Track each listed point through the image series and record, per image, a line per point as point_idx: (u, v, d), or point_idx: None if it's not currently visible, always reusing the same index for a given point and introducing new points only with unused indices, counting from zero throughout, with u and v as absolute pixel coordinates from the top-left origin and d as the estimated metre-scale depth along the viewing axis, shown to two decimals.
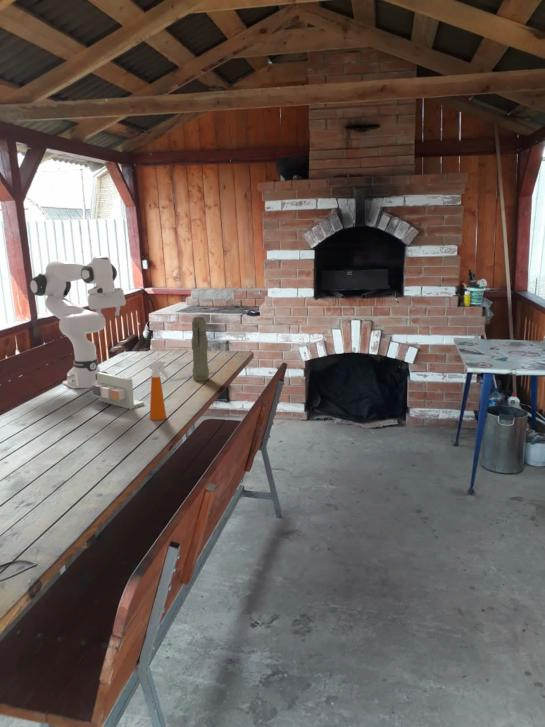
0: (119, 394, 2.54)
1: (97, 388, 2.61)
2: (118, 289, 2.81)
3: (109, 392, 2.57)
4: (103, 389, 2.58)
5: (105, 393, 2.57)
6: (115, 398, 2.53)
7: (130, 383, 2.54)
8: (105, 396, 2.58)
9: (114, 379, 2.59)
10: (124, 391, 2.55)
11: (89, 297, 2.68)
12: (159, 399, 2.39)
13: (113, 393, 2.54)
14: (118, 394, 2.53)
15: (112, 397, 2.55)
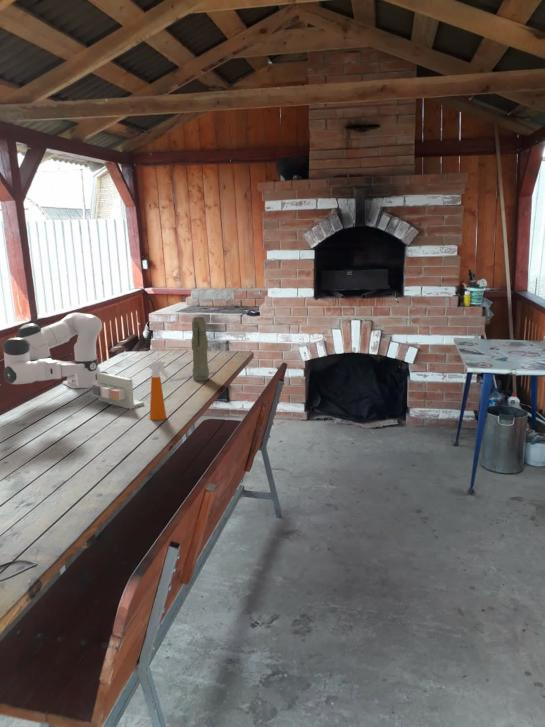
0: (119, 394, 2.54)
1: (97, 388, 2.61)
2: None
3: (109, 392, 2.57)
4: (103, 389, 2.58)
5: (105, 393, 2.57)
6: (115, 398, 2.53)
7: (130, 383, 2.54)
8: (105, 396, 2.58)
9: (114, 379, 2.59)
10: (124, 391, 2.55)
11: (65, 372, 2.25)
12: (159, 399, 2.39)
13: (113, 393, 2.54)
14: (118, 394, 2.53)
15: (112, 397, 2.55)
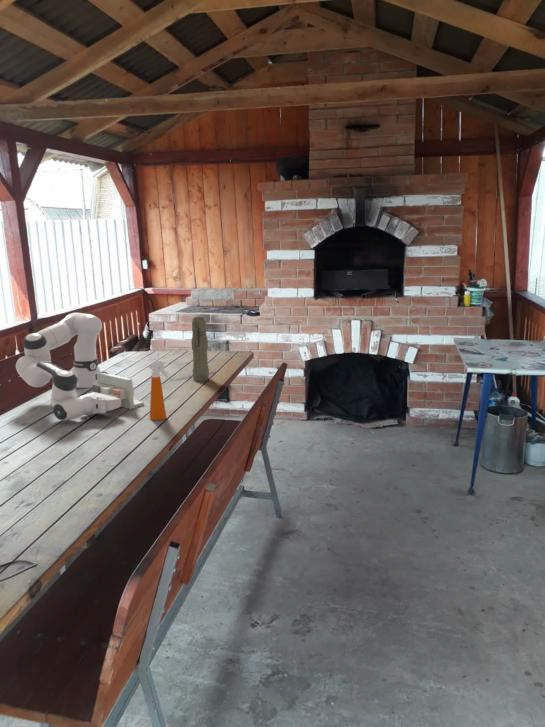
0: (121, 394, 2.54)
1: (97, 388, 2.61)
2: None
3: (109, 392, 2.57)
4: (103, 389, 2.58)
5: (105, 393, 2.57)
6: None
7: (130, 383, 2.54)
8: None
9: (114, 379, 2.59)
10: None
11: (110, 406, 2.40)
12: (159, 399, 2.39)
13: (115, 393, 2.54)
14: (120, 394, 2.53)
15: None
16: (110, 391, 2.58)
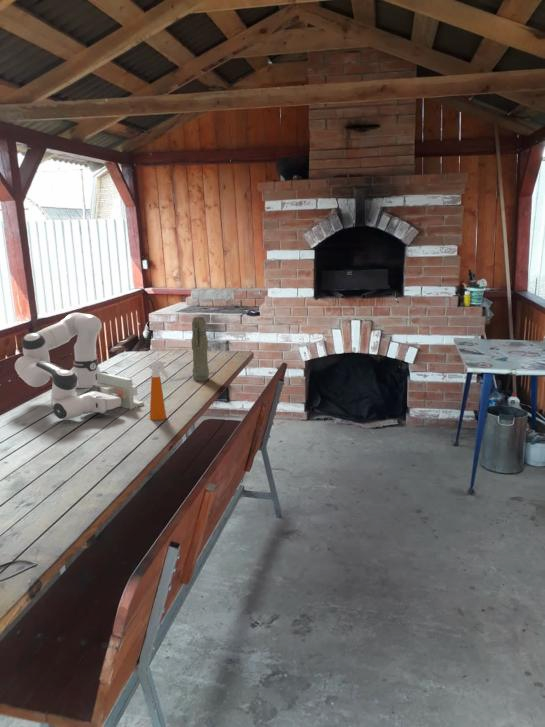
0: (124, 393, 2.56)
1: (97, 388, 2.61)
2: None
3: (109, 392, 2.57)
4: (103, 389, 2.58)
5: (105, 393, 2.57)
6: (120, 397, 2.56)
7: (130, 383, 2.54)
8: None
9: (114, 379, 2.59)
10: None
11: (109, 405, 2.41)
12: (159, 399, 2.39)
13: (118, 392, 2.56)
14: (123, 393, 2.55)
15: None
16: (110, 391, 2.58)
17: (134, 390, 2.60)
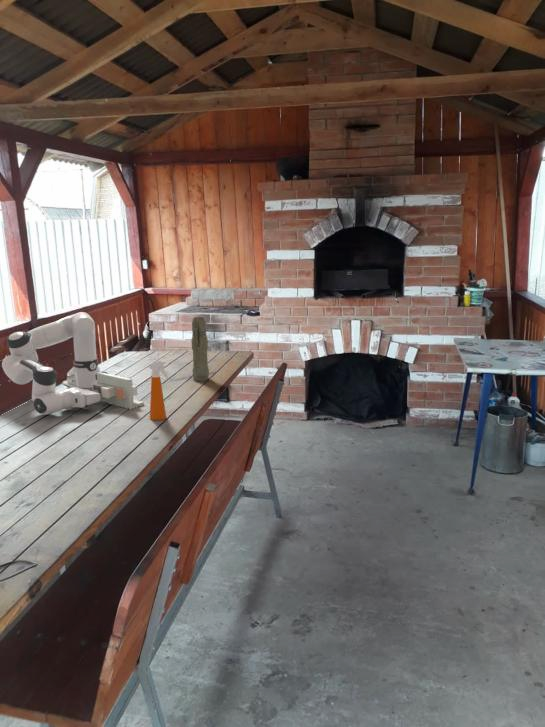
0: (124, 393, 2.56)
1: (98, 388, 2.61)
2: None
3: (109, 392, 2.57)
4: (103, 389, 2.58)
5: (105, 393, 2.57)
6: (120, 397, 2.56)
7: (130, 383, 2.54)
8: (105, 396, 2.58)
9: (114, 379, 2.59)
10: None
11: (89, 400, 2.48)
12: (159, 399, 2.39)
13: (118, 392, 2.56)
14: (123, 393, 2.55)
15: (117, 396, 2.57)
16: (110, 391, 2.58)
17: (134, 390, 2.60)
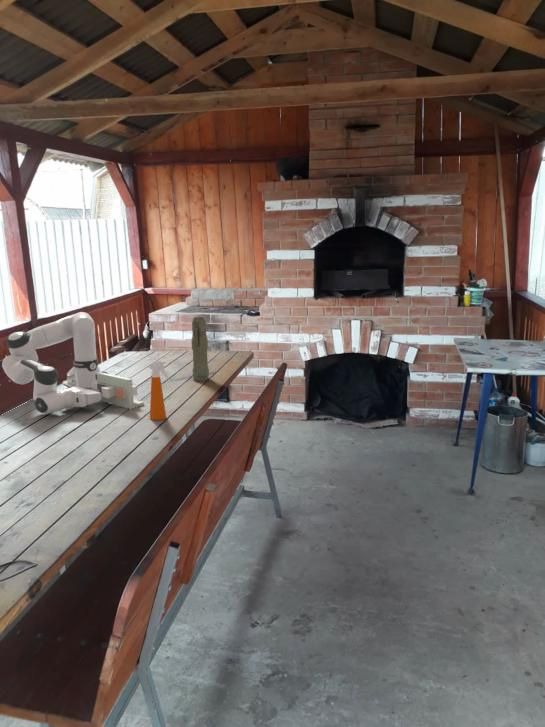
0: (124, 393, 2.56)
1: None
2: None
3: (109, 392, 2.57)
4: (103, 389, 2.58)
5: (105, 393, 2.57)
6: (120, 397, 2.56)
7: (130, 383, 2.54)
8: (105, 396, 2.58)
9: (114, 379, 2.59)
10: None
11: (90, 400, 2.49)
12: (159, 399, 2.39)
13: (118, 392, 2.56)
14: (123, 393, 2.55)
15: (117, 396, 2.57)
16: (110, 391, 2.58)
17: (134, 390, 2.60)
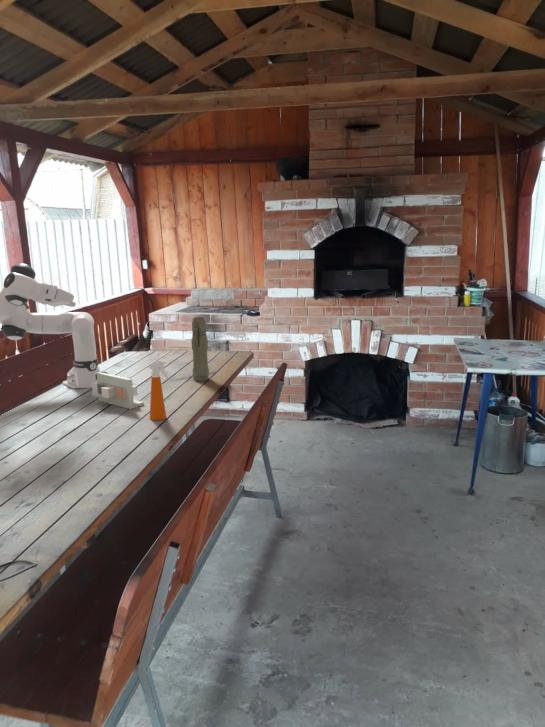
0: (124, 393, 2.56)
1: None
2: None
3: (109, 392, 2.57)
4: (103, 389, 2.58)
5: (105, 393, 2.57)
6: (120, 397, 2.56)
7: (130, 383, 2.54)
8: (105, 396, 2.58)
9: (114, 379, 2.59)
10: None
11: (59, 295, 2.36)
12: (159, 399, 2.39)
13: (118, 392, 2.56)
14: (123, 393, 2.55)
15: (117, 396, 2.57)
16: (110, 391, 2.58)
17: (134, 390, 2.60)
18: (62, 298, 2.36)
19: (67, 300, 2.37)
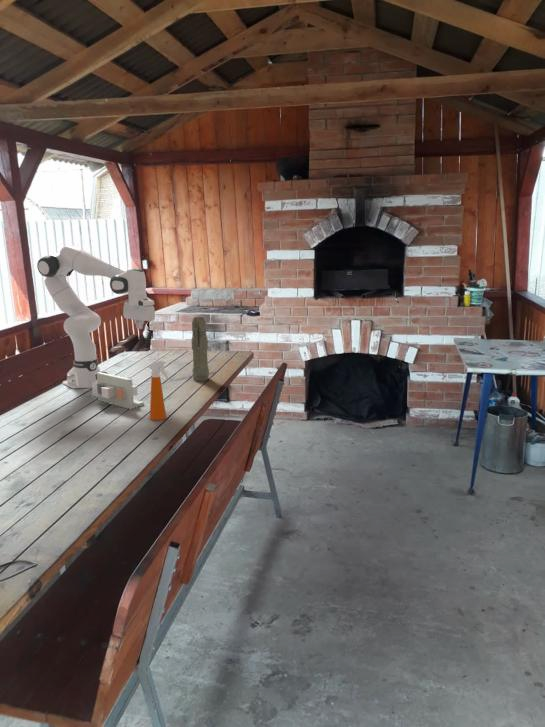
0: (124, 393, 2.56)
1: None
2: None
3: (109, 392, 2.57)
4: (103, 389, 2.58)
5: (105, 393, 2.57)
6: (120, 397, 2.56)
7: (130, 383, 2.54)
8: (105, 396, 2.58)
9: (114, 379, 2.59)
10: None
11: (150, 308, 2.69)
12: (159, 399, 2.39)
13: (118, 392, 2.56)
14: (123, 393, 2.55)
15: (117, 396, 2.57)
16: (110, 391, 2.58)
17: (134, 390, 2.60)
18: (149, 311, 2.68)
19: (149, 316, 2.69)
